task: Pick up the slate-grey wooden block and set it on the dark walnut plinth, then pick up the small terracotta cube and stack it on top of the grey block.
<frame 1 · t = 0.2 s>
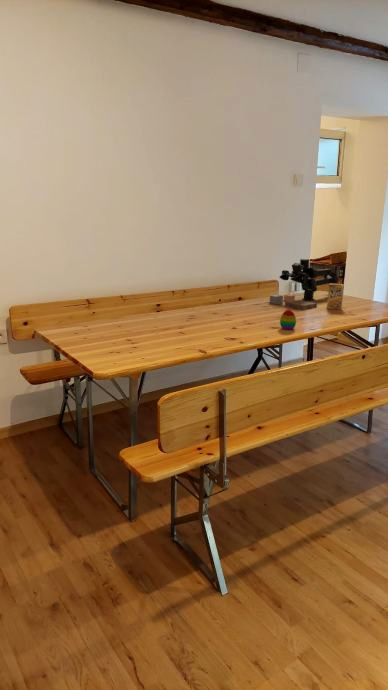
hand: (285, 278, 324), 17 cm above the table, tool horizontal, fingers open, 9 cm apart
walnut plinth: (300, 306, 321), on the table
decorative egg: (287, 329, 265), on the table
candy box: (334, 308, 317), on the table
terracotta cube: (289, 301, 339), on the table
grey block: (276, 303, 331), on the table
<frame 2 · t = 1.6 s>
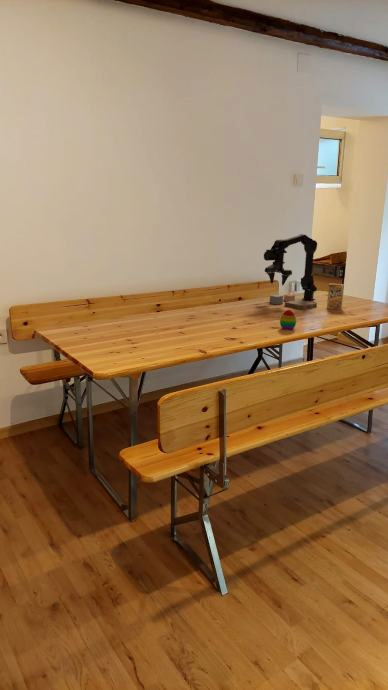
hand: (277, 284, 328), 12 cm above the table, tool pointing down, fingers open, 9 cm apart
nothing on the table moved.
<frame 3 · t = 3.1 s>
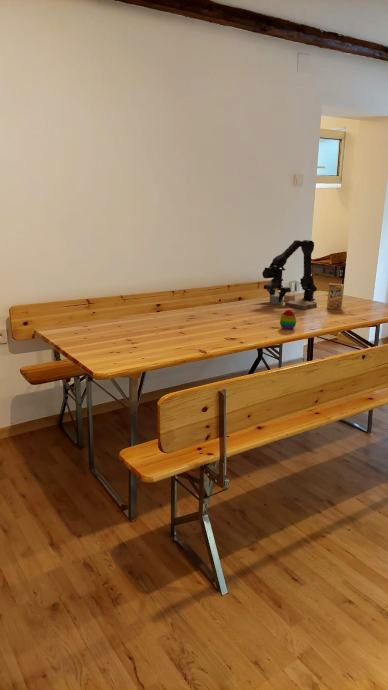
hand: (276, 301, 331), 1 cm above the table, tool pointing down, fingers closed on grey block, 6 cm apart
grey block: (276, 303, 331), on the table, touching gripper
everything else where it was.
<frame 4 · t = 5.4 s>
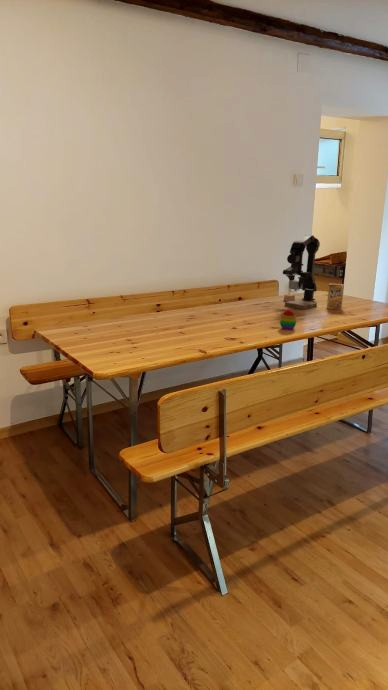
hand: (295, 287, 320), 12 cm above the table, tool pointing down, fingers closed on grey block, 6 cm apart
grey block: (295, 288, 320), point 11 cm above the table, touching gripper
everything else where it was.
when the fingers open (4 cm above the table, at t = 7.6 s): grey block stays where it is, resting on walnut plinth.
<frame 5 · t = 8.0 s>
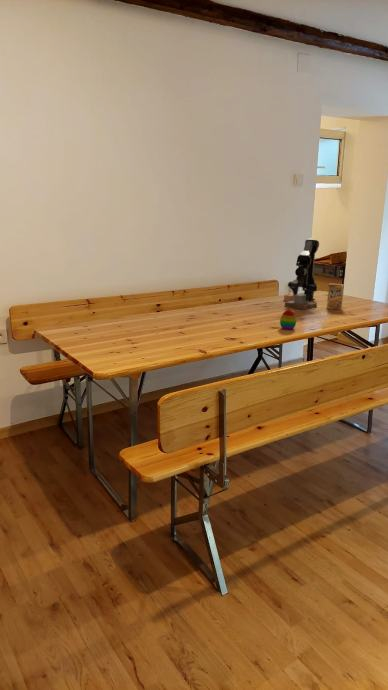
hand: (301, 299, 320), 4 cm above the table, tool pointing down, fingers open, 9 cm apart
grey block: (300, 302, 320), point 2 cm above the table, touching walnut plinth
everything else where it was.
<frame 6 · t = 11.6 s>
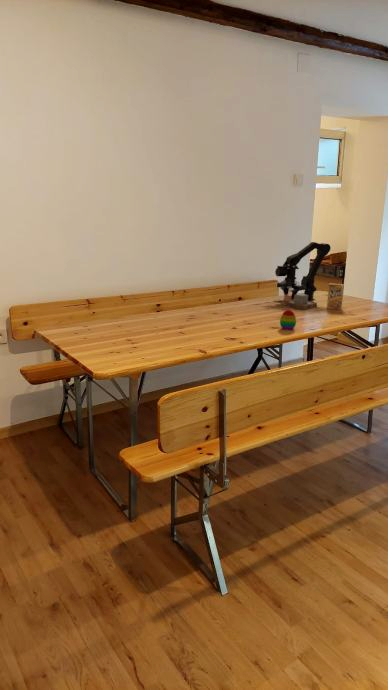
hand: (289, 299, 339), 1 cm above the table, tool pointing down, fingers closed on terracotta cube, 5 cm apart
terracotta cube: (289, 300, 339), on the table, touching gripper
everything else where it was.
when the fingers open (9 cm above the table, at t = 14.9 s): terracotta cube stays where it is, resting on grey block.
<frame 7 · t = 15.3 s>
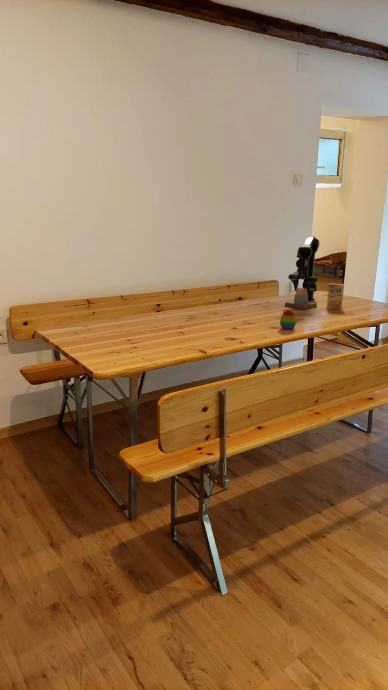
hand: (301, 291, 318), 9 cm above the table, tool pointing down, fingers open, 9 cm apart
terracotta cube: (301, 294, 319), point 7 cm above the table, touching grey block
grey block: (300, 302, 320), point 2 cm above the table, touching terracotta cube, walnut plinth
everything else where it was.
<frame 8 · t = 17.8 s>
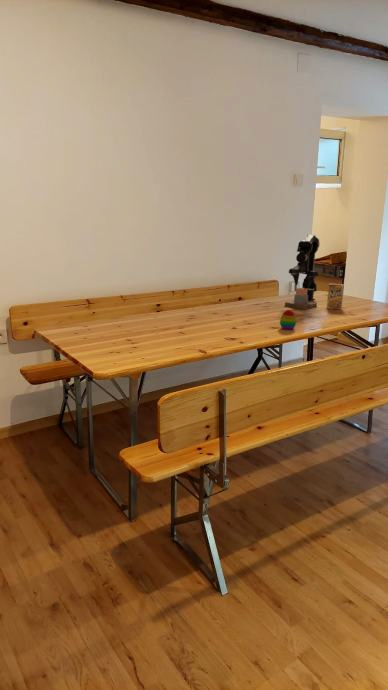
hand: (302, 286, 317), 13 cm above the table, tool pointing down, fingers open, 9 cm apart
nothing on the table moved.
at the end: grey block inside the target area on the walnut plinth (0.0 cm from its centre), point 2.5 cm above the walnut plinth's base; terracotta cube 0.0 cm off-centre on the grey block, point 5.0 cm above the grey block's base; terracotta cube tilted 0° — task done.
